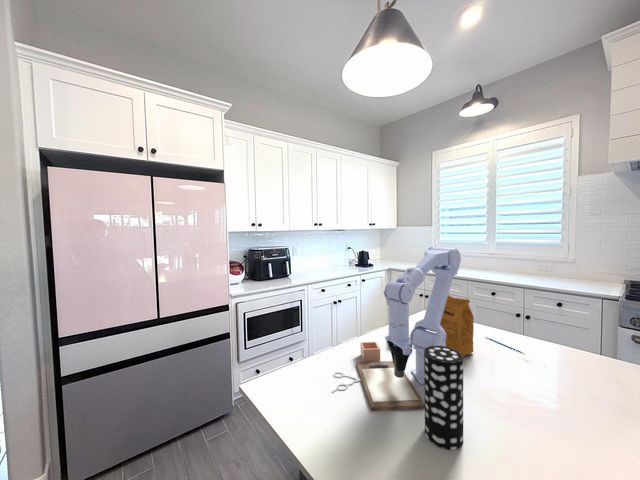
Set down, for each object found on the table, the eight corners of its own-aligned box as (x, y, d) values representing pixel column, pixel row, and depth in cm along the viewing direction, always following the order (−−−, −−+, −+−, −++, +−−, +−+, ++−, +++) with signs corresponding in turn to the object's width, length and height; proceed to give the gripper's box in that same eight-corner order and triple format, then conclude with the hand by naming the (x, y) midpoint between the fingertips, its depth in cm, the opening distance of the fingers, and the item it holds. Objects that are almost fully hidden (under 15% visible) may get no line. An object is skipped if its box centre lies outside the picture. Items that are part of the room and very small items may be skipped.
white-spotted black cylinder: (418, 423, 66) (418, 346, 66) (450, 421, 67) (449, 344, 66) (435, 451, 58) (435, 363, 57) (471, 448, 59) (471, 361, 58)
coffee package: (451, 341, 113) (451, 291, 112) (477, 354, 101) (477, 298, 100) (433, 345, 109) (432, 293, 108) (458, 359, 98) (457, 301, 97)
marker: (402, 372, 80) (402, 343, 79) (405, 377, 77) (405, 347, 76) (392, 372, 79) (392, 343, 79) (395, 378, 76) (395, 347, 76)
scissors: (328, 372, 91) (384, 368, 92) (328, 374, 91) (385, 370, 92) (332, 391, 80) (396, 386, 82) (332, 394, 80) (396, 388, 82)
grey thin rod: (486, 338, 116) (486, 336, 116) (527, 355, 100) (527, 354, 100) (485, 338, 116) (485, 337, 116) (526, 356, 99) (526, 354, 99)
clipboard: (397, 363, 96) (397, 358, 96) (425, 408, 72) (425, 401, 72) (356, 365, 96) (356, 359, 95) (371, 410, 72) (371, 403, 71)
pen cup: (376, 354, 103) (376, 341, 103) (380, 362, 97) (380, 348, 97) (360, 354, 103) (360, 342, 103) (363, 362, 97) (363, 349, 97)
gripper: (379, 314, 84) (379, 355, 85) (392, 332, 70) (393, 381, 71) (400, 313, 85) (401, 355, 85) (418, 331, 70) (419, 380, 71)
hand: (399, 367), depth 78 cm, fingers closed on marker, 3 cm apart
